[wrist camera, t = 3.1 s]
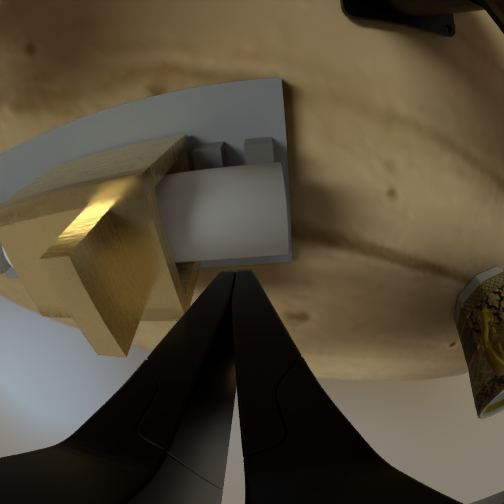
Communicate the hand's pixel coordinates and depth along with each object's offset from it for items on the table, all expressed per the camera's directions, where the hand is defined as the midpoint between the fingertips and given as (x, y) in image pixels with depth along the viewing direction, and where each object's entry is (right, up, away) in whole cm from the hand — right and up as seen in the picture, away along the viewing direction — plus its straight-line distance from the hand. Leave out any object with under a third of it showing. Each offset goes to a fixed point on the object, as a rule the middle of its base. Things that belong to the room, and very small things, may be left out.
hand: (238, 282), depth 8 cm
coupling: (-6, +4, +6) cm, 10 cm away
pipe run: (-10, +4, +7) cm, 13 cm away
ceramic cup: (+20, -2, +12) cm, 23 cm away
